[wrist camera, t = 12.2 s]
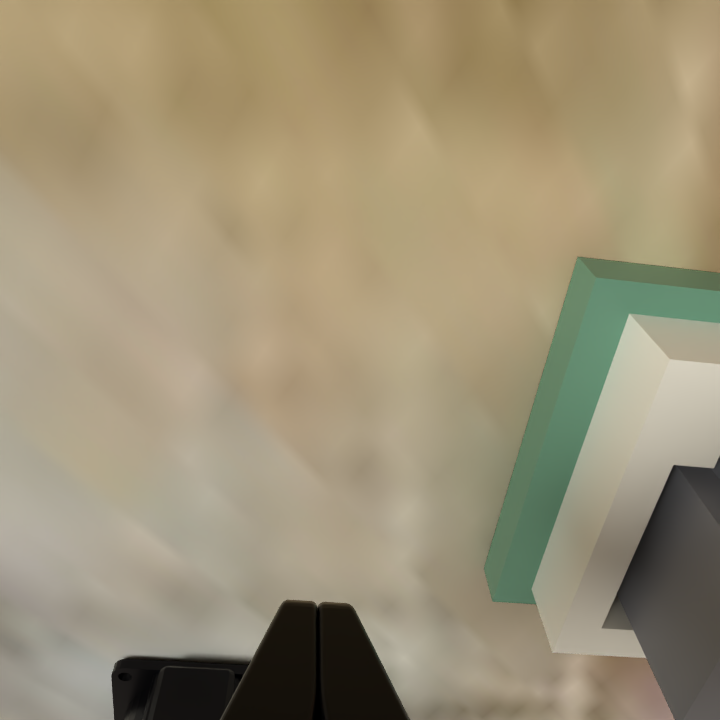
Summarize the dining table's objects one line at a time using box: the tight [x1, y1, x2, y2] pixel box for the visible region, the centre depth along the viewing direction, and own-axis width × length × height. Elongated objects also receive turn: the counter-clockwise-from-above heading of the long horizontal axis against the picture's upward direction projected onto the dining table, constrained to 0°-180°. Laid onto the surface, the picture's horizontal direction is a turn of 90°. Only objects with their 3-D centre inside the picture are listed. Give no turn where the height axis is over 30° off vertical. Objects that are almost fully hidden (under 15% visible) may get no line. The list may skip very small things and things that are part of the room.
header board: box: [484, 257, 720, 658], centre depth 21 cm, size 12×10×4 cm
